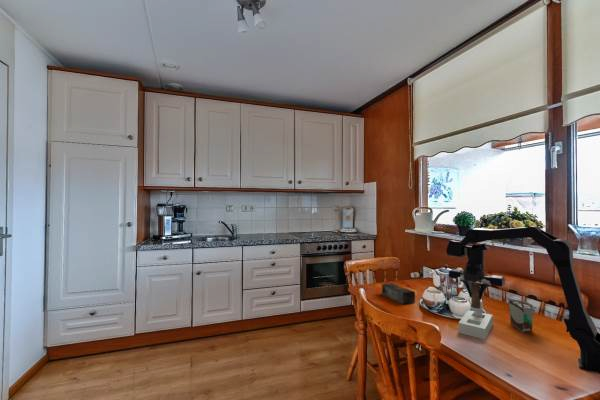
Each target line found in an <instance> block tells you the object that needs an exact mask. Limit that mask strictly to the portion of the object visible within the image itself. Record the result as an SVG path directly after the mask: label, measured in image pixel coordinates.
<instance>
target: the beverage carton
mask: <svg viewBox="0 0 600 400" xmlns="http://www.w3.org/2000/svg"><path fill="white" fill-rule="evenodd" d="M383 294H384V295H383ZM381 295H383V296H385V295H386V296H385V297H387V296H388V297H387V298H389V297H390V298H389V299H391V300H394V301H396V302H398V303H400V304H402V305H410V304H416V292H415V291H413V290H411V289H408V288H405V287H403V286H400V285H397V284H395V283H383V284H381Z"/></svg>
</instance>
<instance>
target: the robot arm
mask: <svg viewBox="0 0 600 400" xmlns="http://www.w3.org/2000/svg"><path fill="white" fill-rule="evenodd" d="M525 238H530V239H531V240H533V241H534V242H535V243H536V244H537V245H539V246H540V247H541V248H544V249H545V250H546V253H547V255H548V256H549V259H550V260H551V262H552V263H553V265H554V266H555V268H556V269H557V271H556V272H557V273H558V278H559V281H560V284H561V287H562V288H561V289H562V291H563V292H562V293H563V295H564V298H565V301H566V302H565V303H566V305H567V308H568V309H567V310H568V313H566V314H565V316H564V317H563V322H564V325H565V327H566V330H565V331H566V333H569V335H570V337H571V338H572V339H573V340H574V341H576V342H577V345H578V347H579V355H580V356H579V357H580V358H578V359H577V360H578V367H579V368H580V369H583V370H587V371H590V372H592V373H593V372H594V373H598V374H600V332H598V329H597V327H596V325H595V323H594V321H593V320H592V317H591V316H590V315H589V312H588V311H587V310H586V307H585V303H584V300H583V296H582V293H581V289H580V285H579V282H578V280H577V275H576V272H575V269H574V249H573V248H574V247H573V244H572V243H571V242H570V241H569V240H566V239H563V238H558V237H557V236H555V235H553V234H551V233H549V232H547V231H545V230H543V229H542V228H541V227H538V226H536V225H530V226H522V227H511V228H510V227H509V228H499V229H498V228H497V229H492V228H491V229H489V228H482V227H481V228H480V227H479V228H478V227H476V228H471V229H468V230H467V231H466V232H465V235H464V237H463V238H462V240H461V241H459V240H453V239H450V240H448V243H447V245H446V248H445V249H446V251H445V252H446V255H447V256H448V257H454V258H455V257H456V258H462V259H464V258H465V256H466V257H467V258H466V259H467V260H466V265H465V268H464V269H463V270H462V269H457V268H452V269H450V270H449V271H448V278H449V279H450V278H451V279H452V278H453V279H458V278H459V277H460V279H459V281H460V282H461V283H463V284H464V286H465V288H466V291H467V293H468V295H469V297H470V299H471V281H472V282H479V281H481V282H480V295H479V298H480V301H481V300H482V299H483V296H484V294H485V292H486V290H487V288H488V287H490V286H494V287H495V286H496V287H503V286H505V284H506V279H505V277H504V276H501V275H496V274H492V275H491V276H489V275H488V276H486V273H485V258H484V257H485V251H488V250H491V247H489V246H488V245H487V244H486V243H485V242H487V241H491V240H505V239H506V240H507V239H525ZM479 243H482V244H479ZM471 244H472V245H471Z"/></svg>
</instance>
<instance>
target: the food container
mask: <svg viewBox="0 0 600 400" xmlns="http://www.w3.org/2000/svg"><path fill="white" fill-rule="evenodd" d="M508 305H509V307H508V308H509V319H510V320H509V322H510V324H511V325H512V326H514V327H515V328H516V329H517V330H519V331H520V332H521V333H523V334H528V333H529V334H531V333H532V331H533V319H534V314H536V309H535V307H534V305H533V304H531V303H529V302H526V301H522V300H520V299H508Z"/></svg>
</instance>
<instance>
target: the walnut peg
mask: <svg viewBox="0 0 600 400" xmlns="http://www.w3.org/2000/svg"><path fill="white" fill-rule="evenodd" d="M480 283H481V282H480V281H478V282H472V281H471V298H470V299H471V300H470V301H471V304H470V305H471V306H470V307H471V308H473V309H474V308H478V309H479V308H480V301H481V300H480V298H479V295H480Z"/></svg>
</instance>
